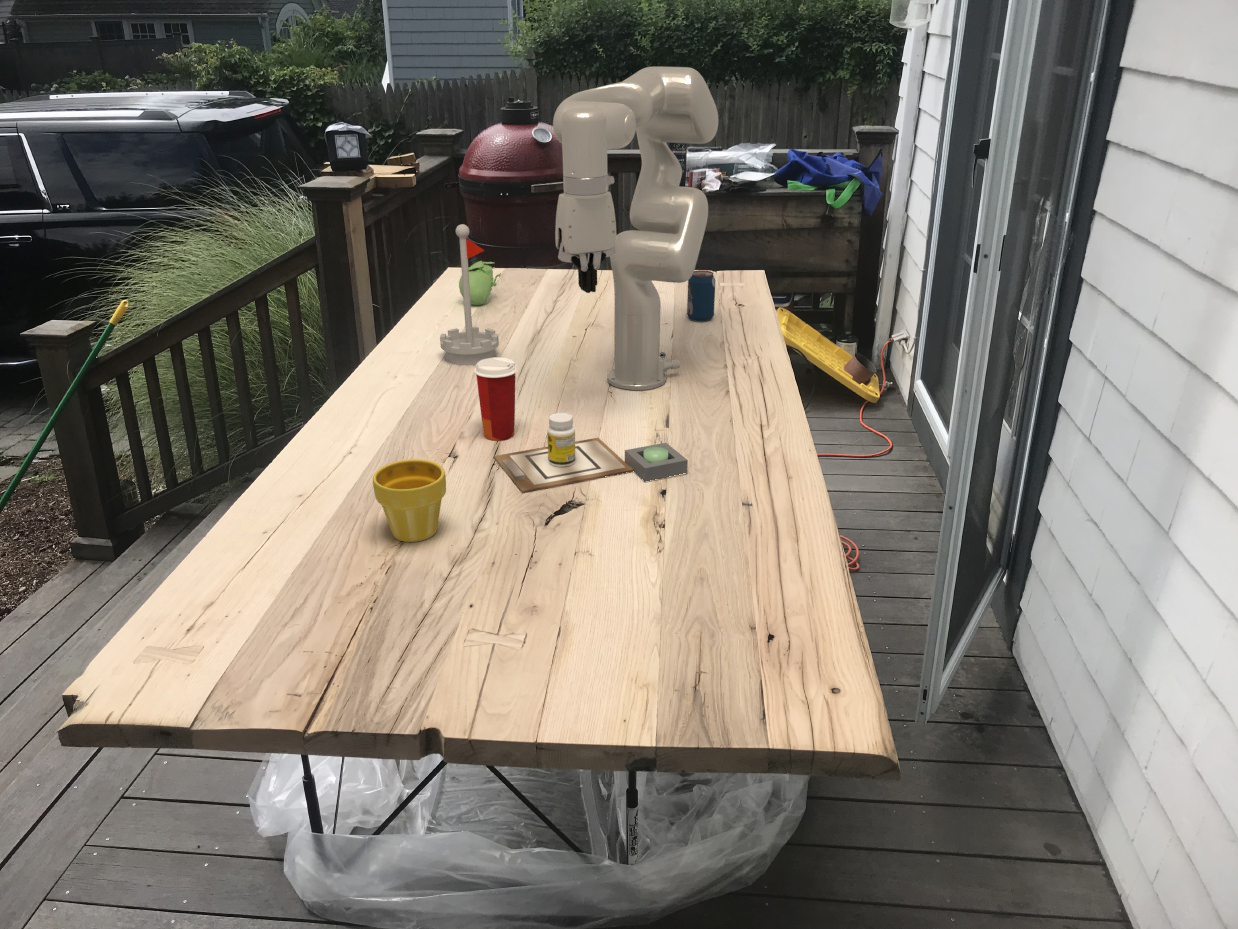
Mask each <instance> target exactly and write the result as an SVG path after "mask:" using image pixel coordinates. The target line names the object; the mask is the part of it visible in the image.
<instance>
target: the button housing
mask: <svg viewBox="0 0 1238 929" xmlns="http://www.w3.org/2000/svg"><path fill="white" fill-rule="evenodd" d="M649 447H662V448H665V449H667V450H668V460H664V461H658V462H653V463H648V462H647V461H646V460H645V459H644V450H645V449H646V448H649ZM688 460H689V459H687V458H686V457H685V456H683V455H682V454H681V453H680V452H679V451H677V450H676V449H675V448H673V446H671V445H669V443H667V442H661V443H657V444H651V445H645V446H641V447H635V448H629V449H628V448H627V449H624V462H626V463H627V464H628V465H629V466H630V467H631V468H632V469H633V471H634V472H635V473H636V474H637V475H638V476H639V477H638V476H637V475H636V474H635V473H634V472H633V473H634V474H635V475H636V476H637V477H638V478H640V480H642V479H643V480H644V481H649V482H651V481H650V480H654V481H656V480H655V479H659V480H663V479H662V478H664V479H667V478H666V477H669V476H674V475H679V474H683V473H687V474H688V466H689V465H688ZM679 476H680V475H679ZM674 477H675V476H674ZM669 478H670V477H669ZM643 480H642V481H643ZM644 481H643V482H644Z"/></svg>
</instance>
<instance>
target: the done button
mask: <svg viewBox="0 0 1238 929" xmlns="http://www.w3.org/2000/svg"><path fill="white" fill-rule="evenodd" d="M644 459H645V460H646V461H647V462H648V463H653V462H658V461H664V460H668V450H667V449H665V448H662V447H649V448H646V449H645V450H644Z"/></svg>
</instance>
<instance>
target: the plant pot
mask: <svg viewBox="0 0 1238 929" xmlns="http://www.w3.org/2000/svg"><path fill="white" fill-rule="evenodd" d="M372 485H373V492H374V496H375V500H376V502H377V503H378V504H379V505H381V508H382V511H383V512H384V515H385V517H386V520H387V523H388V526H389V529H390V531H391V534H392V536H393V537H394V538H395V540H398V541H400V542H403V543H404V542H405V543H415V542H416V543H418V542H421V541H424V540H427V539H430V538H431V537H433V536H434V535H435V534H436V532H437V530H438V526H439V518H440V513H441V505H442V499H443V498H444V496H445V495H446V493H447V479H446V471H445V469H444V467H443V466H442V465H441V464H439V463H437V462H436V461H432V460H428V459H419V458H418V459H417V458H411V459H402V460H401V459H400V460H398V461H397V460H396V461H393V462H391V463H388V464H385V465H383V466H381V467H379V469H377V470H376V471H375V472H374V474H373V476H372Z"/></svg>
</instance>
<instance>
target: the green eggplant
mask: <svg viewBox="0 0 1238 929" xmlns="http://www.w3.org/2000/svg"><path fill="white" fill-rule="evenodd" d="M493 264H495V261H494V262H492V261H482V260H480V261H476V262H475V263H473V264H472V265H470V266H468V269H469V285H470V300H471V305H472V306H473V305H474V306H481V305H484V304H485V303H487V301H488V299H489V297H490V294H491V292H492V290H493V287H496V286H497V284H498V283H496V281H497V278H498V277H499V278H500V277H501V275H502V273H501V272H500V273H498V274H496V275H495V277H494V270H495V269H496V267H495V266H494V267H492V266H491V265H493ZM458 287H459V289H458V290H459V292H460V295H461V297H462V298H463V284H462V275H461V276H460V278H459V282H458Z"/></svg>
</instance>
